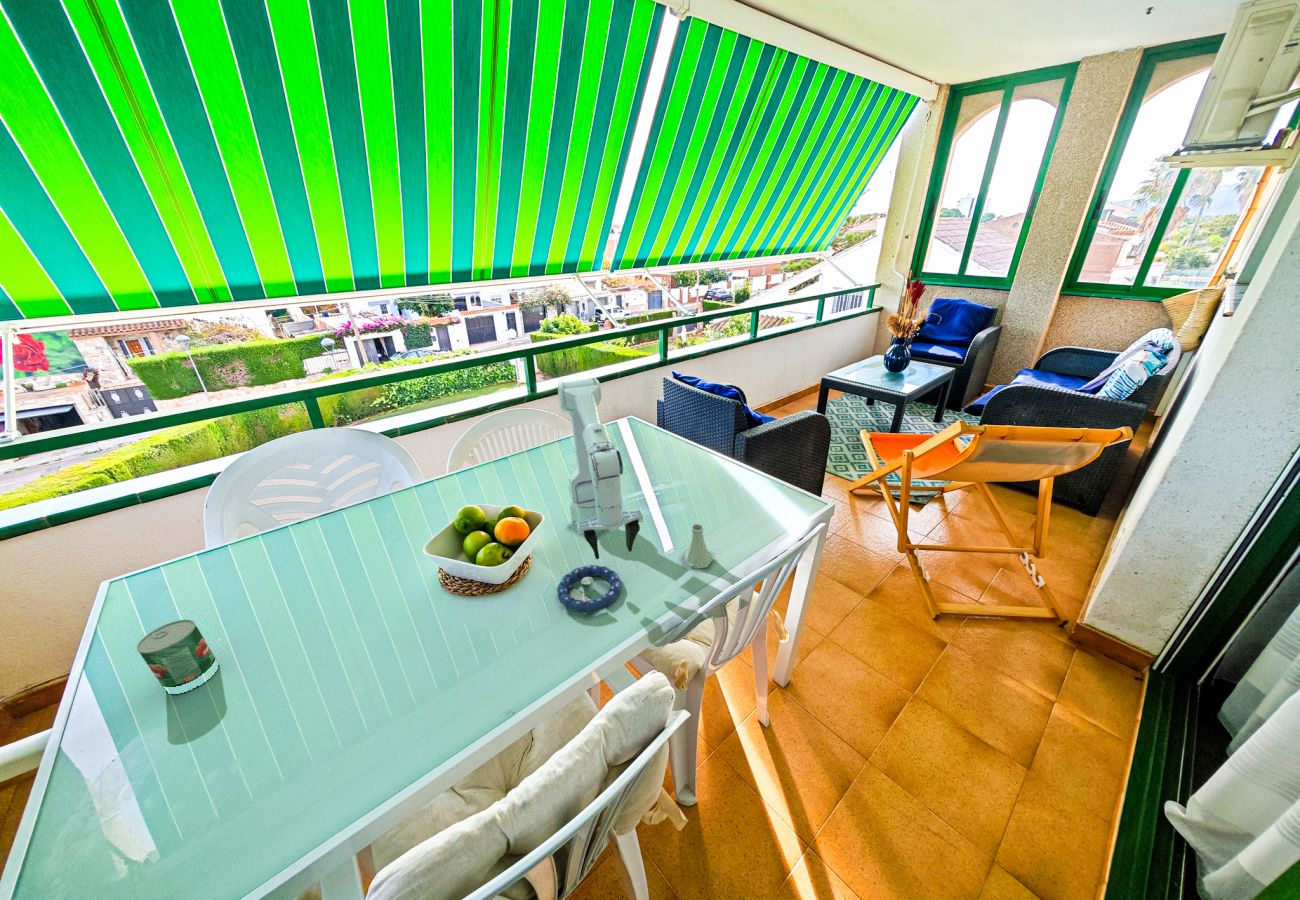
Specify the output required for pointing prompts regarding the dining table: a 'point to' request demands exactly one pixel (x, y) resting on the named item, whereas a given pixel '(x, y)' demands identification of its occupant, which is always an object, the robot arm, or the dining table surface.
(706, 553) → the flask
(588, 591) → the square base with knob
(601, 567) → the ring
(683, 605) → the dining table surface
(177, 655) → the canned tomato
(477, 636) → the dining table surface
